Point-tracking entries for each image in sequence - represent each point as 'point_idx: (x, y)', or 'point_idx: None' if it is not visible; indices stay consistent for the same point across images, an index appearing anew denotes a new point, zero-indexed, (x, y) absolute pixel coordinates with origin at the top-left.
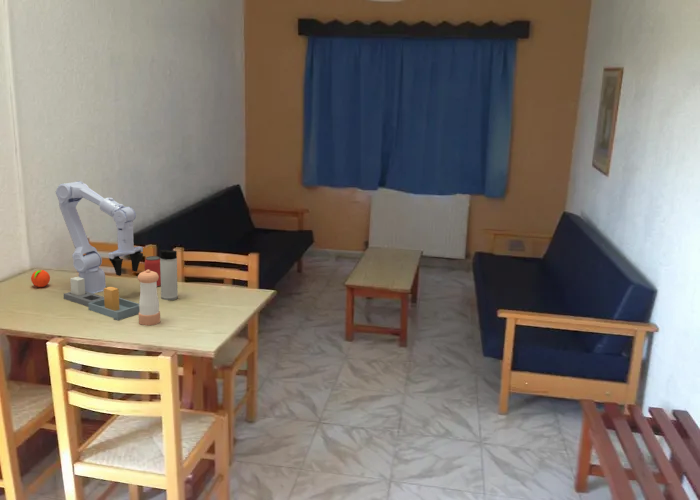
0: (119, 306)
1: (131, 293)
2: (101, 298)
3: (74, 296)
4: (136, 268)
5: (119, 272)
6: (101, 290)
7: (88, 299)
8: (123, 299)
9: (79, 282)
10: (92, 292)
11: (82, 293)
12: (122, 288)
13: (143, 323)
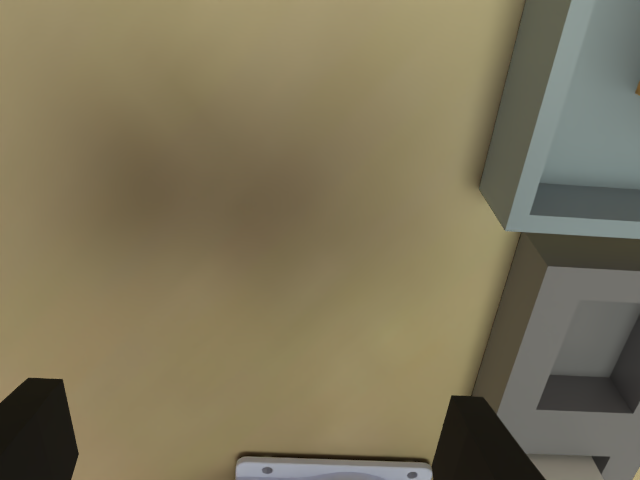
0: (588, 29)
1: (141, 279)
2: (593, 283)
3: (626, 468)
4: (23, 427)
5: (522, 455)
6: (287, 471)
7: (557, 385)
8: (580, 19)
9: None
10: (374, 478)
11: (558, 470)
12: (111, 419)
13: None
